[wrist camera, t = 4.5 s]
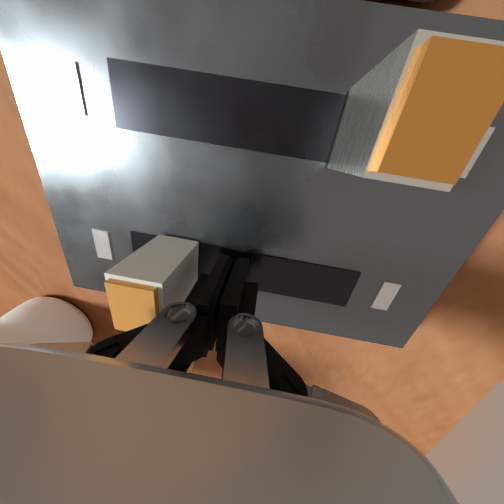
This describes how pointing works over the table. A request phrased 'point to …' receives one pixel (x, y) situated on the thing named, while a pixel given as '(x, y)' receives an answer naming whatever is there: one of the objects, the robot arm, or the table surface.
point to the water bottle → (45, 323)
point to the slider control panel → (269, 144)
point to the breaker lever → (151, 280)
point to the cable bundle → (423, 0)
